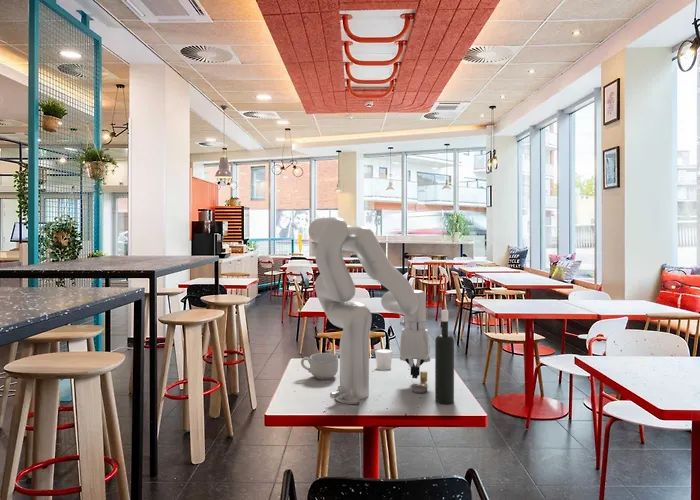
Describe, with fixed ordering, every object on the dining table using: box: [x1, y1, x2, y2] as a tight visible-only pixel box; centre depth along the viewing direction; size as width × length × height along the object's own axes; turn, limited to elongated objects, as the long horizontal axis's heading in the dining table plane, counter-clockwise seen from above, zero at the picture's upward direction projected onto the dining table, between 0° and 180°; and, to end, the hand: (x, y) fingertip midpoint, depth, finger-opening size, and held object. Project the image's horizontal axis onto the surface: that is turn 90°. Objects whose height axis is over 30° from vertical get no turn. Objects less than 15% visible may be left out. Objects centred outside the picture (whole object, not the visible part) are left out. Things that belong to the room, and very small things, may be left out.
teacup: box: [300, 352, 339, 381], centre depth 190 cm, size 14×11×8 cm
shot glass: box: [374, 348, 393, 371], centre depth 203 cm, size 7×7×7 cm
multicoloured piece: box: [411, 370, 428, 395], centre depth 172 cm, size 13×5×4 cm, turn 163°
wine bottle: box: [434, 309, 455, 406], centre depth 158 cm, size 6×6×30 cm
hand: (415, 377), depth 178 cm, fingers closed
